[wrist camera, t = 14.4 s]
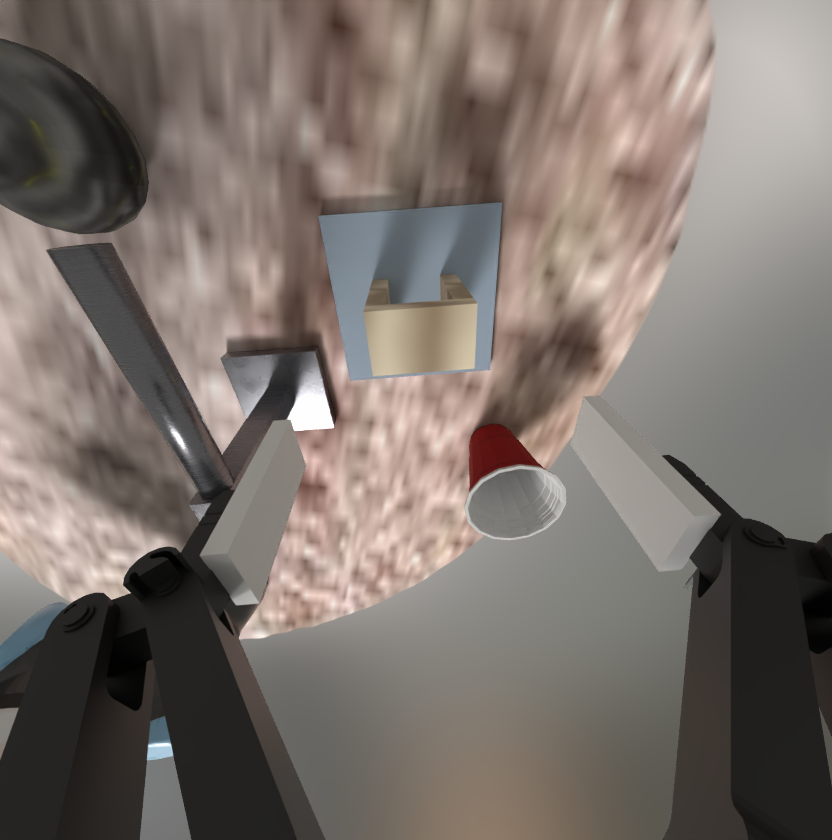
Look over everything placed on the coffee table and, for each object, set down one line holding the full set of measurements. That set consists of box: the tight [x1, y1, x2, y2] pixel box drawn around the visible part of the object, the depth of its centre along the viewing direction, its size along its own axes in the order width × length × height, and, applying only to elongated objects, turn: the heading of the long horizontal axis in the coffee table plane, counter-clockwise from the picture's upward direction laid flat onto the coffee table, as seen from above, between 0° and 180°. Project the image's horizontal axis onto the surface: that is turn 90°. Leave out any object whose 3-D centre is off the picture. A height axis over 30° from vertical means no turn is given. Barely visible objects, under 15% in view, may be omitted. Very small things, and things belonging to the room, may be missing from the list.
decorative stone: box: [0, 38, 149, 234], centre depth 22 cm, size 10×10×10 cm
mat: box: [318, 202, 502, 381], centre depth 33 cm, size 16×16×1 cm
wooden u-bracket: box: [363, 274, 478, 376], centre depth 29 cm, size 8×5×10 cm, turn 93°
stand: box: [46, 243, 336, 521], centre depth 28 cm, size 10×22×18 cm, turn 3°
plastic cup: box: [464, 424, 566, 540], centre depth 40 cm, size 11×11×12 cm
